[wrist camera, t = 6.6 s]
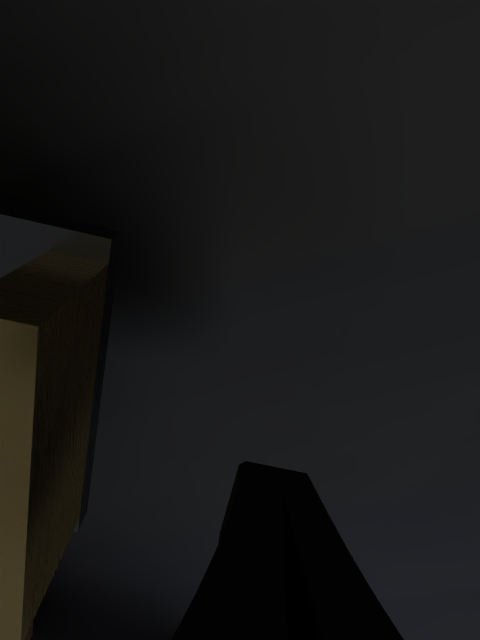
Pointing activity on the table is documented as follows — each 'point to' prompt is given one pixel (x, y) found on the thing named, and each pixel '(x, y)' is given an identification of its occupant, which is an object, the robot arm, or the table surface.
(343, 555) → the robot arm
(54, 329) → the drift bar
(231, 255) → the table surface
